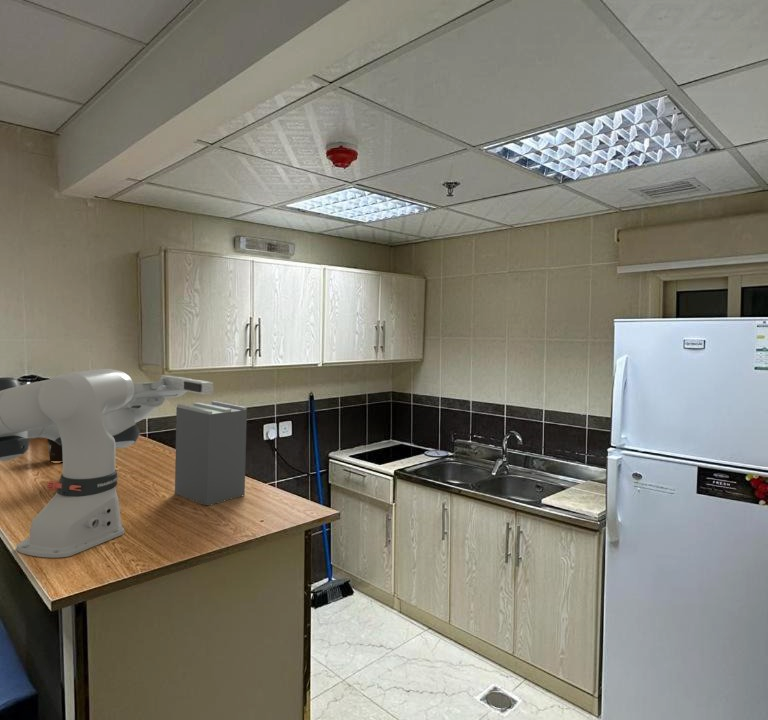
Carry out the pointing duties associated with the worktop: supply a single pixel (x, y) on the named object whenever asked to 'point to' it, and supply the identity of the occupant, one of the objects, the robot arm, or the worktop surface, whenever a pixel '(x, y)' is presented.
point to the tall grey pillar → (210, 451)
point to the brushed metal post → (188, 384)
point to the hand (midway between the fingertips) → (169, 380)
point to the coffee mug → (55, 451)
